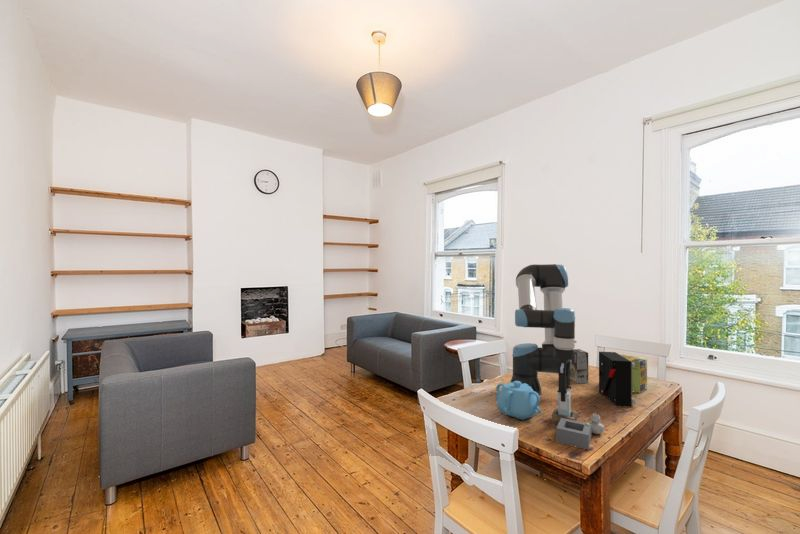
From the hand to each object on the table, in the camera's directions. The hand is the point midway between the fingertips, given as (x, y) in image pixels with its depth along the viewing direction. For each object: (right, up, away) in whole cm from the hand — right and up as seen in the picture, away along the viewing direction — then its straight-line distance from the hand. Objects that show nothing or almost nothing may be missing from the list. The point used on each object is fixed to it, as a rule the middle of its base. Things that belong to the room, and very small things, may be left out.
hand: (564, 406), depth 139 cm
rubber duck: (+8, -7, -8) cm, 13 cm away
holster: (0, -6, 0) cm, 6 cm away
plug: (0, -6, 0) cm, 6 cm away
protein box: (+51, -7, +41) cm, 66 cm away
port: (-3, -6, -14) cm, 15 cm away
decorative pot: (-16, -7, +9) cm, 19 cm away
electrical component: (+36, -7, +25) cm, 44 cm away
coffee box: (+32, -7, +53) cm, 62 cm away
